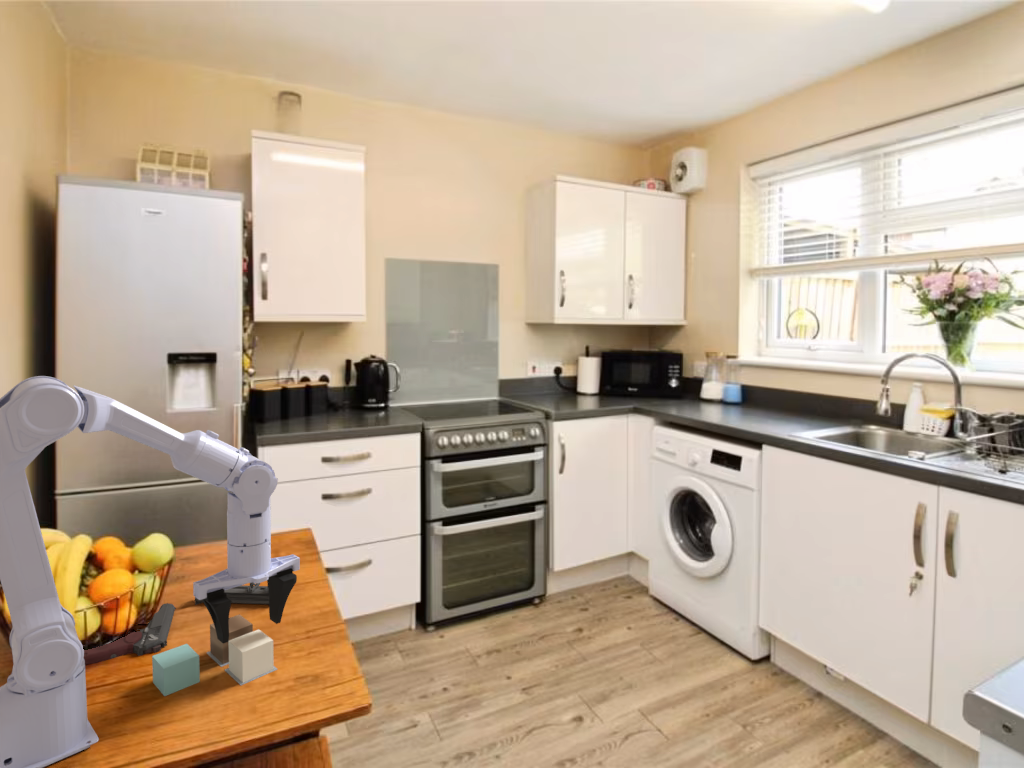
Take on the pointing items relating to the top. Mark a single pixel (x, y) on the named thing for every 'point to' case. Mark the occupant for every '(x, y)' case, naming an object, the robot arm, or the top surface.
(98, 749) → the top surface
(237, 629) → the walnut cube
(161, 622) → the pistol
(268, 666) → the cream cube
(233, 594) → the light fixture
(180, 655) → the teal cube
